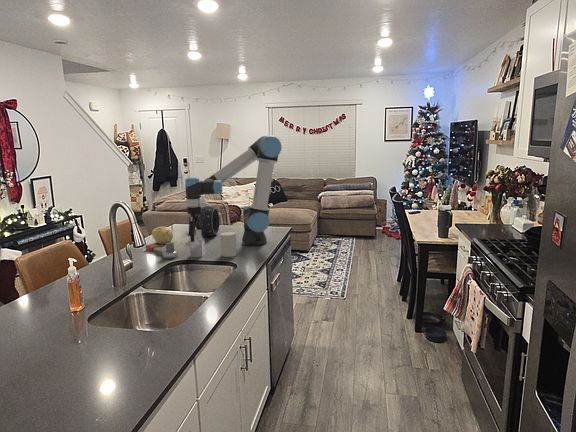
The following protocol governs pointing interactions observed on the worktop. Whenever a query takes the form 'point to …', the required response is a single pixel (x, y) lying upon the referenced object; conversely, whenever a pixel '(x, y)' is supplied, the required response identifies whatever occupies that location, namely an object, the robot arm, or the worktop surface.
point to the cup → (228, 244)
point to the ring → (209, 221)
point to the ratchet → (164, 250)
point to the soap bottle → (204, 202)
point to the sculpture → (162, 235)
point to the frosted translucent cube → (198, 248)
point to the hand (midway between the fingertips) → (196, 244)
